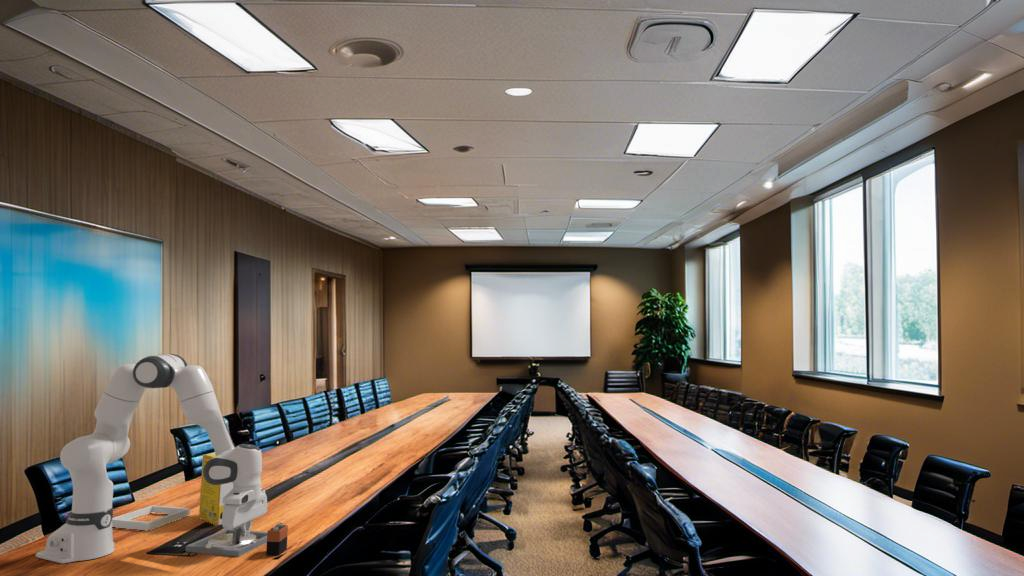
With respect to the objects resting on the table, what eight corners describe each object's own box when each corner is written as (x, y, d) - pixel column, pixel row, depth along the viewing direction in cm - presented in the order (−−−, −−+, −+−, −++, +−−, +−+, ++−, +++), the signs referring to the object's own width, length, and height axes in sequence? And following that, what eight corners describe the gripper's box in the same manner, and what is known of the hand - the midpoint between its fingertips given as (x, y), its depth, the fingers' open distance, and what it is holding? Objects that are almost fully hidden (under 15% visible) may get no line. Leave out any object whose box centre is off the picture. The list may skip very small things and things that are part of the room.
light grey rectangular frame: (107, 527, 228) (108, 519, 228) (151, 512, 248) (152, 505, 248) (147, 531, 224) (148, 522, 224) (189, 516, 244) (189, 508, 245)
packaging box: (238, 510, 253) (242, 449, 256) (258, 518, 243) (261, 454, 246) (198, 518, 241) (202, 454, 243) (217, 526, 231) (221, 459, 233)
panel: (185, 555, 199) (186, 542, 199) (226, 537, 218) (226, 525, 219) (238, 560, 195) (239, 548, 195) (275, 541, 214) (276, 530, 215)
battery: (287, 553, 203) (288, 522, 204) (278, 560, 196) (280, 528, 197) (274, 552, 203) (275, 521, 204) (265, 559, 196) (266, 527, 197)
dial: (203, 542, 208) (204, 522, 209) (249, 535, 217) (250, 515, 218) (213, 554, 196) (214, 533, 197) (261, 546, 205) (262, 525, 206)
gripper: (256, 485, 217) (254, 525, 215) (219, 499, 197) (216, 543, 195) (272, 486, 216) (271, 526, 214) (236, 500, 196) (234, 545, 194)
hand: (244, 535), depth 205 cm, fingers closed
